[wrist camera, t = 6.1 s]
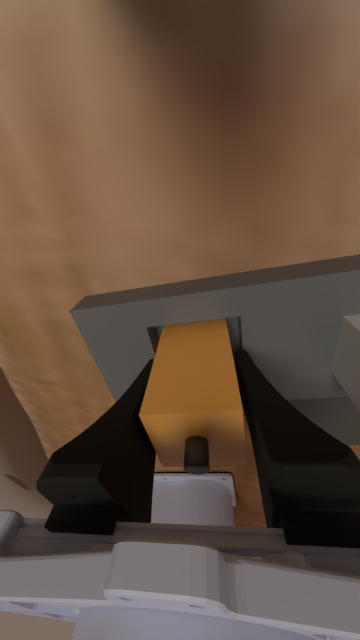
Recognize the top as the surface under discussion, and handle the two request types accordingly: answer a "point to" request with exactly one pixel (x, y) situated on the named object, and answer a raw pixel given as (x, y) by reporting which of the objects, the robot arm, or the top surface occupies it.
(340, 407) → the mat
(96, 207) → the top surface
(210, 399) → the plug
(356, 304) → the grey panel with knob
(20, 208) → the top surface
